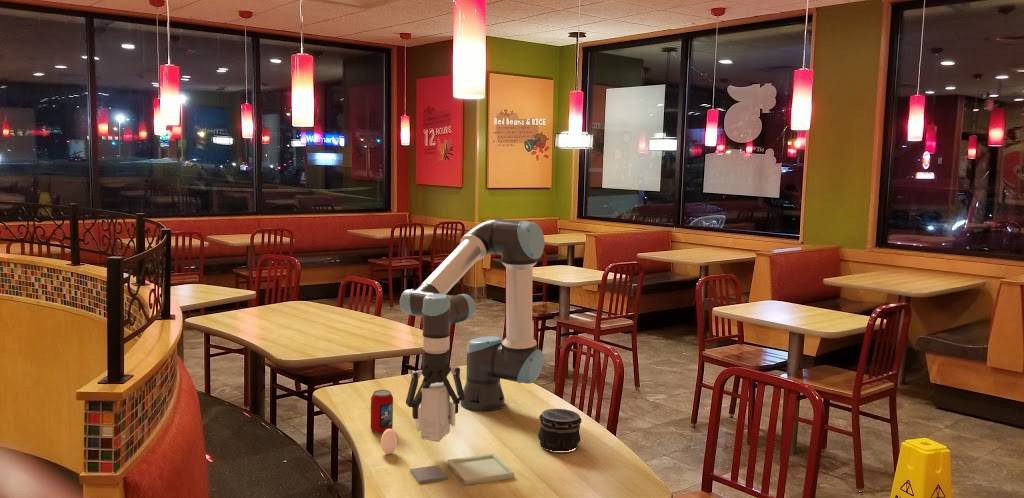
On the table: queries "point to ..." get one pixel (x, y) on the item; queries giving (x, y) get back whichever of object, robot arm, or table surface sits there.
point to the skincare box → (435, 412)
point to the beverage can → (381, 411)
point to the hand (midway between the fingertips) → (435, 426)
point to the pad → (429, 474)
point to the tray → (480, 469)
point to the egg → (389, 441)
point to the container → (559, 429)
